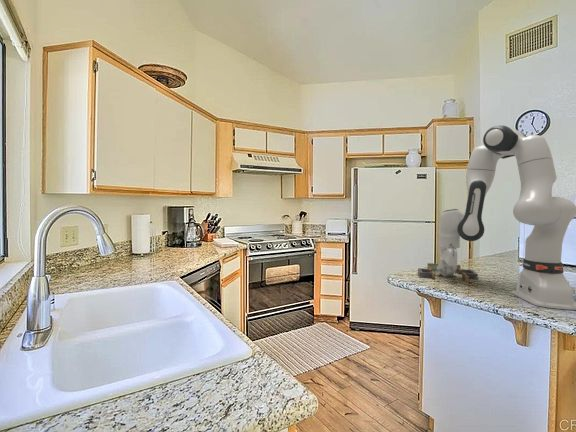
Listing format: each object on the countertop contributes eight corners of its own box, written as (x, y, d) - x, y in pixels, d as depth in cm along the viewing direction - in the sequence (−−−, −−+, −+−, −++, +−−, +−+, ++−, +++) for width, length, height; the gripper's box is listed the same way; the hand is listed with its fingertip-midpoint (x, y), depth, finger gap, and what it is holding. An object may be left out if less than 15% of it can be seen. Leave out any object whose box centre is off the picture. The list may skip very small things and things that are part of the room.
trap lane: (481, 283, 143) (481, 274, 143) (420, 278, 151) (420, 270, 151) (471, 273, 161) (471, 265, 161) (416, 269, 169) (416, 262, 169)
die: (433, 276, 157) (442, 263, 151) (435, 265, 163) (443, 252, 157) (450, 283, 155) (459, 270, 149) (451, 272, 161) (460, 259, 155)
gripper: (461, 246, 139) (460, 277, 140) (452, 240, 159) (451, 267, 160) (445, 246, 141) (444, 276, 142) (438, 240, 161) (437, 267, 162)
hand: (448, 271), depth 151 cm, fingers closed
